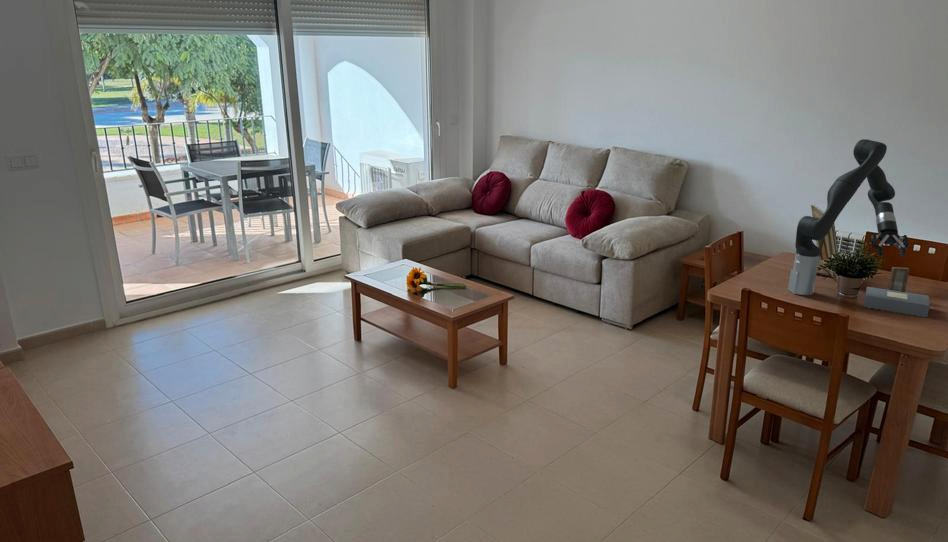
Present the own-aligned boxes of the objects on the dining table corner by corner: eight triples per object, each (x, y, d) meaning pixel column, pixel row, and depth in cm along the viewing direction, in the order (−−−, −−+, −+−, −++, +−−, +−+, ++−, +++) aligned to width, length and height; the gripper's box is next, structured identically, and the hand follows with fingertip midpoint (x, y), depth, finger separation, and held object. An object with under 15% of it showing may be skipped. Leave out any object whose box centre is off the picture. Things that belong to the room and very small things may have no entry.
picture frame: (842, 285, 305) (854, 219, 296) (818, 283, 307) (829, 218, 298) (822, 265, 336) (832, 205, 327) (800, 263, 338) (810, 204, 329)
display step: (863, 307, 277) (865, 295, 276) (864, 297, 289) (867, 286, 287) (927, 317, 266) (929, 305, 265) (926, 307, 278) (928, 295, 276)
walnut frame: (884, 294, 293) (890, 265, 289) (899, 295, 292) (905, 266, 288) (890, 299, 287) (896, 269, 284) (905, 299, 286) (911, 270, 283)
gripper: (872, 219, 300) (877, 250, 293) (907, 220, 298) (913, 252, 290) (866, 227, 307) (871, 259, 299) (900, 229, 304) (906, 261, 297)
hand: (892, 255), depth 295 cm, fingers open, 8 cm apart
